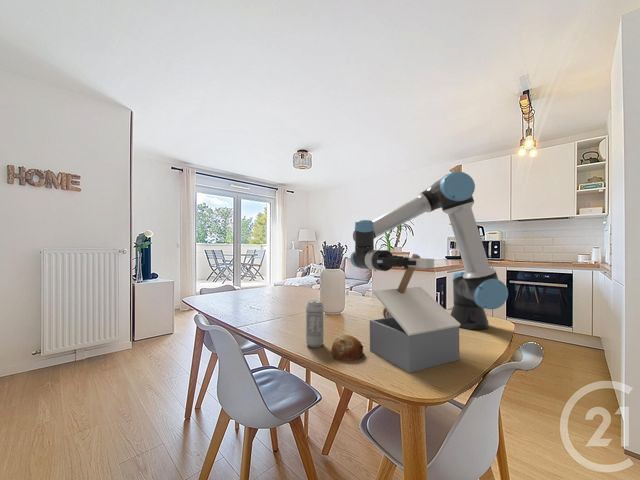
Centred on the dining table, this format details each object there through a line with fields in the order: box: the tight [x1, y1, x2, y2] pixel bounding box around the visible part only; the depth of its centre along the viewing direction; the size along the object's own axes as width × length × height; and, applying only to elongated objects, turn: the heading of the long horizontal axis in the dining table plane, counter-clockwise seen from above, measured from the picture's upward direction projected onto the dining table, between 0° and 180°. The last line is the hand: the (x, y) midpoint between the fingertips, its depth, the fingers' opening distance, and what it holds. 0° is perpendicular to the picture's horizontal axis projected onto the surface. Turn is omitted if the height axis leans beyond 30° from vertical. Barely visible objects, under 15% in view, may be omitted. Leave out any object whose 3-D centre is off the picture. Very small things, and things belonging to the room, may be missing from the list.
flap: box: [372, 253, 461, 336], centre depth 84 cm, size 20×18×15 cm
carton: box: [369, 317, 461, 374], centre depth 88 cm, size 20×18×10 cm
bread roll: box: [330, 333, 364, 361], centre depth 89 cm, size 10×10×8 cm
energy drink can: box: [305, 300, 324, 348], centre depth 98 cm, size 6×6×15 cm
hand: (429, 263), depth 83 cm, fingers closed on flap, 2 cm apart
